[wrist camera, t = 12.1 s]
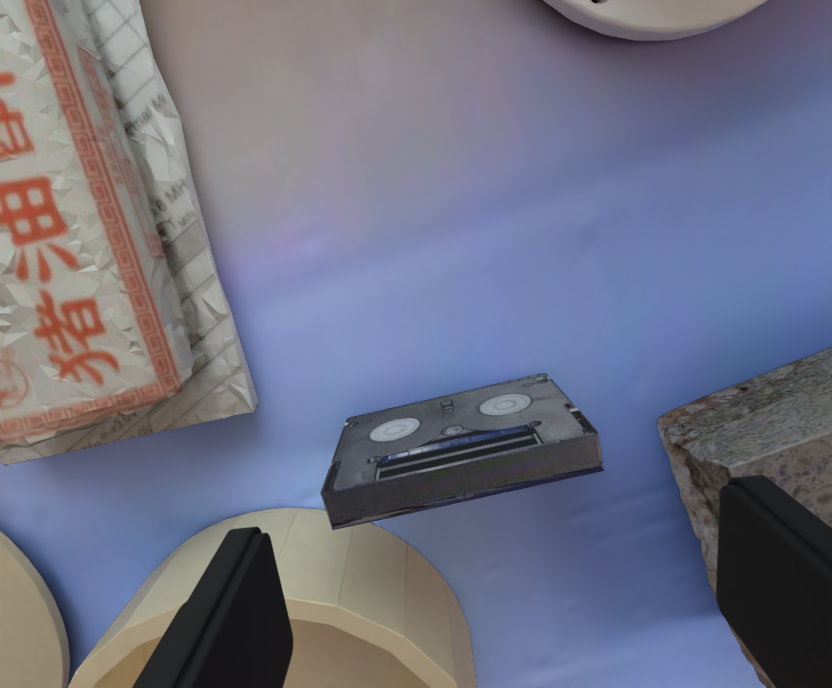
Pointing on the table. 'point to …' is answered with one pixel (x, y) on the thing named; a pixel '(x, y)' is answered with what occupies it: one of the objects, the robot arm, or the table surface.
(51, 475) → the table surface
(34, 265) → the packaged product
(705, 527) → the geological specimen
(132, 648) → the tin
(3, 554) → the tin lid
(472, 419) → the mini dv tape
